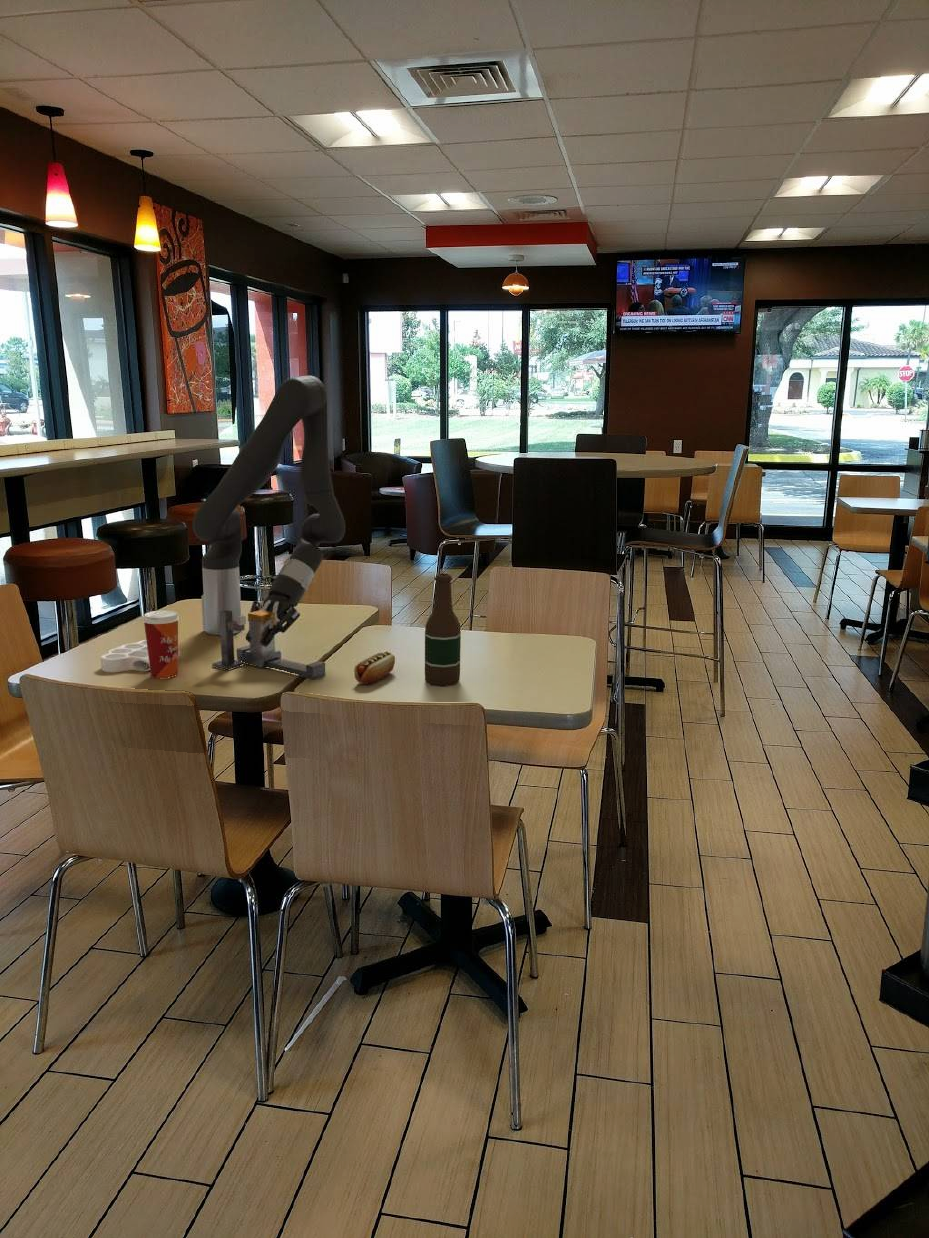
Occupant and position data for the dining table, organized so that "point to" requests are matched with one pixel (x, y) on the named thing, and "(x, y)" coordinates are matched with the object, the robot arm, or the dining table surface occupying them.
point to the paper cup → (162, 642)
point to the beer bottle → (442, 638)
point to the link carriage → (256, 630)
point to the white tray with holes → (127, 658)
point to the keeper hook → (229, 639)
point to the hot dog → (374, 668)
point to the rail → (290, 665)
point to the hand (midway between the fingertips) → (256, 642)
